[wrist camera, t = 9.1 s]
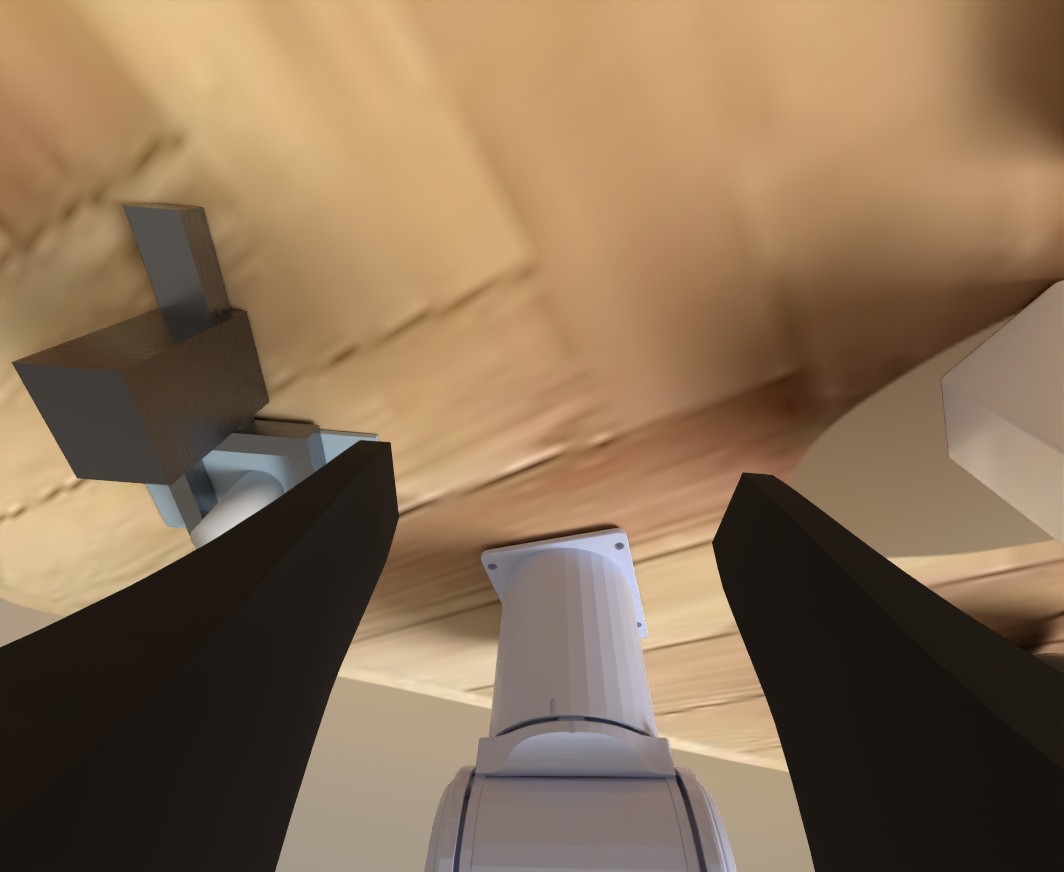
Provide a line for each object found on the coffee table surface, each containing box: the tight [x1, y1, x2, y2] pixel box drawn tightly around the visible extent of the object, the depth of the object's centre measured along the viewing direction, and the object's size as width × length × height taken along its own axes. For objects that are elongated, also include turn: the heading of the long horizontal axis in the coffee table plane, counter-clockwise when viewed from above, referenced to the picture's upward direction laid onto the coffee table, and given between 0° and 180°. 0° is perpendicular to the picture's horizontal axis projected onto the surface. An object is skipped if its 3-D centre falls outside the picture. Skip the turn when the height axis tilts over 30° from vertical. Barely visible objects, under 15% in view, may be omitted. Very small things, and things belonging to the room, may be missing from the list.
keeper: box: [146, 430, 379, 549], centre depth 21 cm, size 7×12×4 cm, turn 85°
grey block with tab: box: [12, 203, 326, 535], centre depth 17 cm, size 16×7×6 cm, turn 175°
